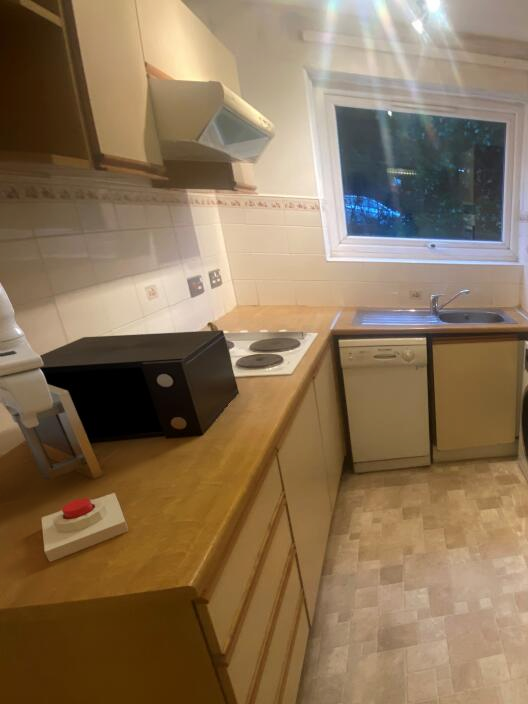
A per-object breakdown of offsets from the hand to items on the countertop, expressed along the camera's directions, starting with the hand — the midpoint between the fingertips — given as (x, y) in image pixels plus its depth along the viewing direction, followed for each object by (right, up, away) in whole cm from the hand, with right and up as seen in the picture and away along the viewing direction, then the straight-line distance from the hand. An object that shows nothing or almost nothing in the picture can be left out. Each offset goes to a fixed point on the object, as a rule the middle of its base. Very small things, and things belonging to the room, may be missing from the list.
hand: (27, 424), depth 82 cm
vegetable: (-1, +9, +60) cm, 61 cm away
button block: (+16, -18, -5) cm, 25 cm away
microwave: (-5, -2, +35) cm, 35 cm away
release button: (+16, -15, -6) cm, 23 cm away
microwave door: (-8, -11, +12) cm, 18 cm away
